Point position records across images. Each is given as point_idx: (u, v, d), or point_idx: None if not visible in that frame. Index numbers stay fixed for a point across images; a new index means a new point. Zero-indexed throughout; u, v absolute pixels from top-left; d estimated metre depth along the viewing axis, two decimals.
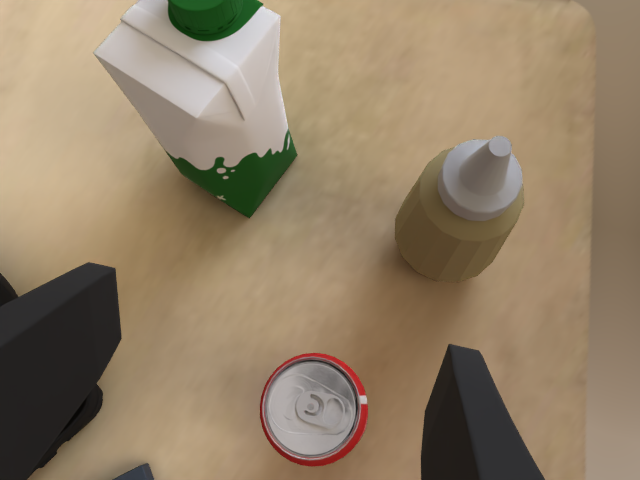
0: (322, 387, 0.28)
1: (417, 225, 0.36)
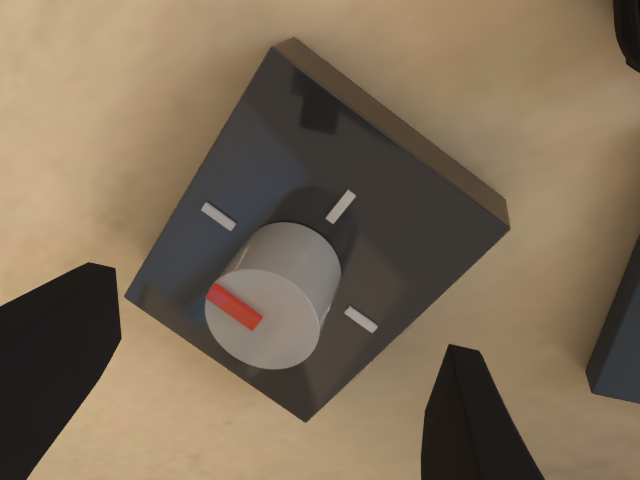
0: None
1: None
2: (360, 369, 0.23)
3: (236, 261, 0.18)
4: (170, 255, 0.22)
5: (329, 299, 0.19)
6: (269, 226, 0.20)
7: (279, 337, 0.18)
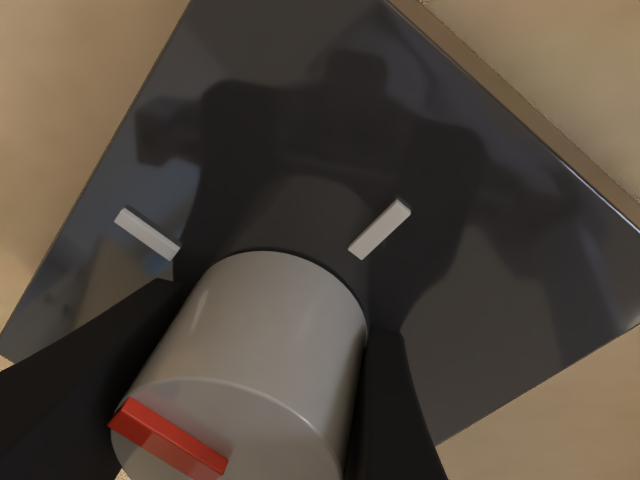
0: None
1: None
2: None
3: (175, 345, 0.09)
4: (64, 292, 0.13)
5: (355, 409, 0.10)
6: (241, 260, 0.11)
7: None
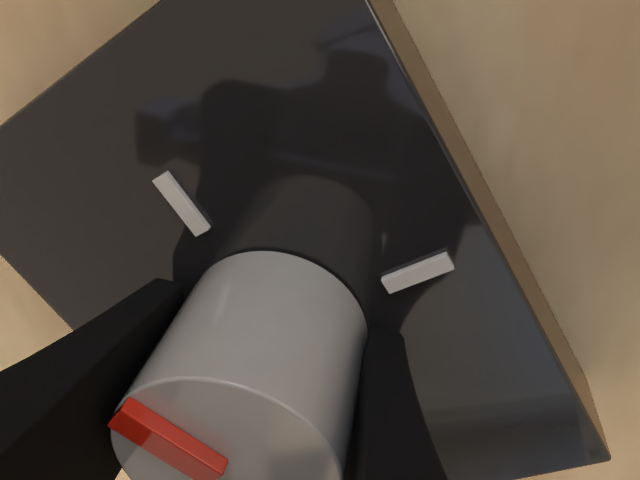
0: None
1: None
2: (534, 323, 0.11)
3: (175, 345, 0.09)
4: None
5: (355, 409, 0.10)
6: (241, 260, 0.11)
7: None
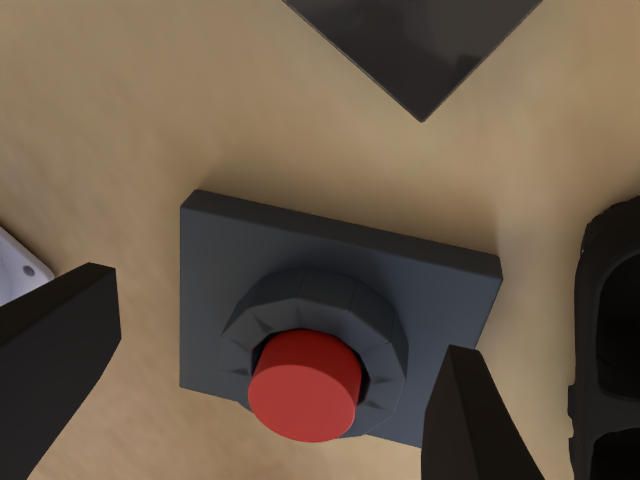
0: None
1: None
2: None
3: None
4: None
5: None
6: None
7: None
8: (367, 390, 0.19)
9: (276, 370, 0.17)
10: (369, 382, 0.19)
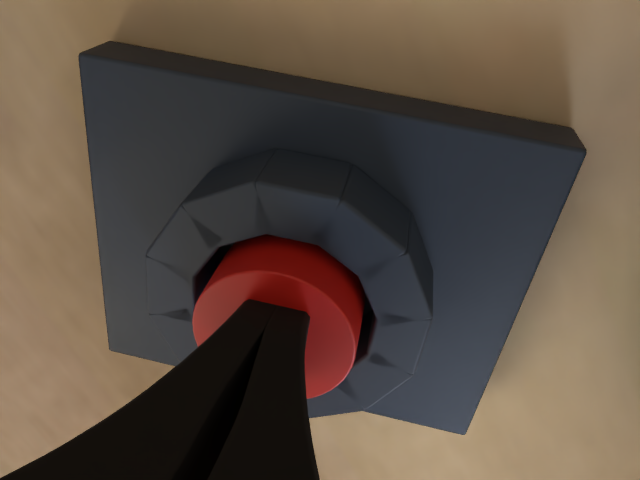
0: None
1: None
2: None
3: None
4: None
5: None
6: None
7: None
8: (371, 338, 0.12)
9: (231, 281, 0.11)
10: (374, 325, 0.12)
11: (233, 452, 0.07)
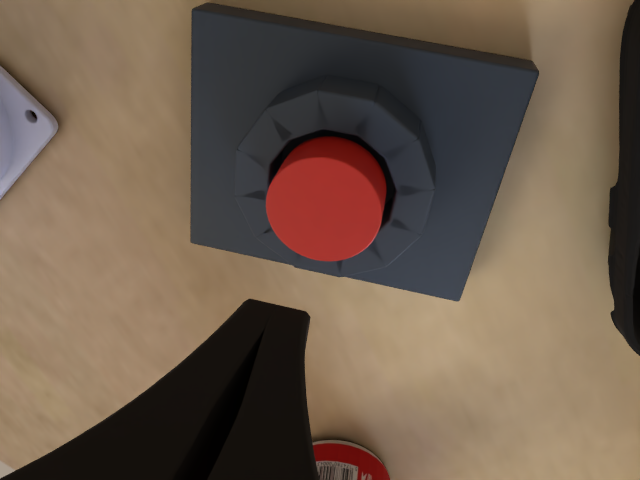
0: None
1: None
2: None
3: None
4: None
5: None
6: None
7: None
8: (392, 207, 0.18)
9: (297, 166, 0.16)
10: (395, 196, 0.17)
11: (233, 452, 0.07)
